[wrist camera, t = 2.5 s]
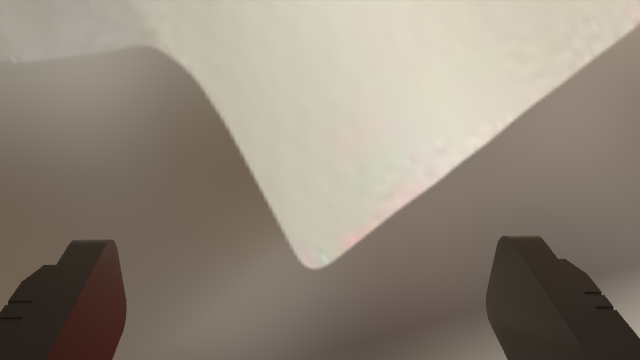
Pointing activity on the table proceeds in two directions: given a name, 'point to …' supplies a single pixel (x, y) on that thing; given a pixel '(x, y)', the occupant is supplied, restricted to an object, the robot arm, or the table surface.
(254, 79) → the table surface
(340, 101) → the table surface
